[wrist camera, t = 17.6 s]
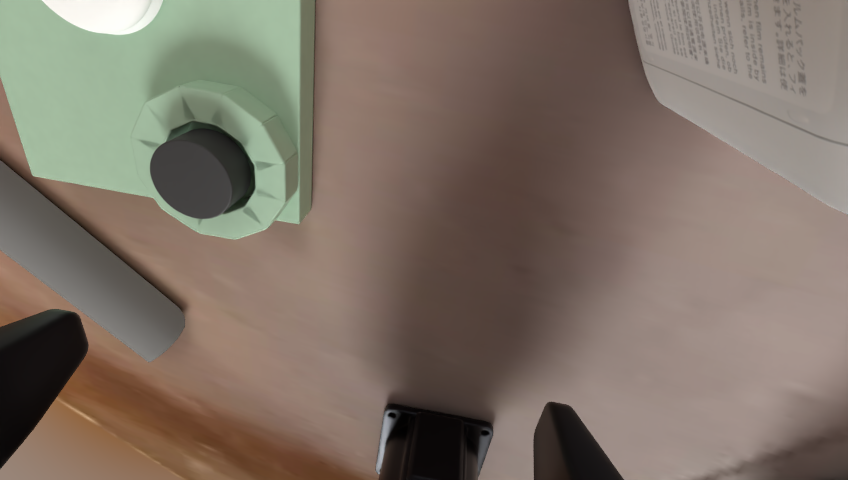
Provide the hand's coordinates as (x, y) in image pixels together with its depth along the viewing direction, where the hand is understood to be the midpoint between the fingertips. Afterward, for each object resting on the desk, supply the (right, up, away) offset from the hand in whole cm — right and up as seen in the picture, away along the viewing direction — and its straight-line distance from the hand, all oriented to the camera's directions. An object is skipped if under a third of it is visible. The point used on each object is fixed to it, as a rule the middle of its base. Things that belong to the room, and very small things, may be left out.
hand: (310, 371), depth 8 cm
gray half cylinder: (-18, +4, +14) cm, 23 cm away
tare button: (-6, +5, +9) cm, 12 cm away
